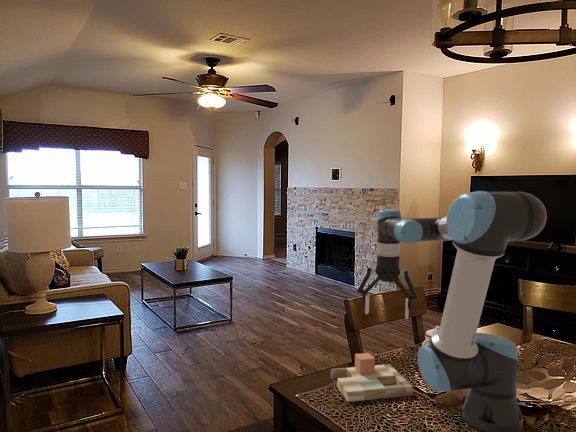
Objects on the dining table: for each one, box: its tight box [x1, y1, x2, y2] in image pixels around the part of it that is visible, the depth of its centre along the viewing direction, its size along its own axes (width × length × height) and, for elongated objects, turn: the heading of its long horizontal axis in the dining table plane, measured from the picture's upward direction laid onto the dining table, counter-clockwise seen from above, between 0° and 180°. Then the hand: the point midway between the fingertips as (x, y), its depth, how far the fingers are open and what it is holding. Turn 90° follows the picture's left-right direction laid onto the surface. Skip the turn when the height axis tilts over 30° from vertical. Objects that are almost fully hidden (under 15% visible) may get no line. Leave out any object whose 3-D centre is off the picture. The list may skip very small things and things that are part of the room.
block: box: [354, 352, 376, 375], centre depth 146 cm, size 5×5×5 cm
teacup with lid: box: [421, 325, 440, 347], centre depth 165 cm, size 12×9×12 cm
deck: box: [330, 363, 414, 403], centre depth 141 cm, size 17×21×3 cm
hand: (386, 315), depth 152 cm, fingers open, 13 cm apart
